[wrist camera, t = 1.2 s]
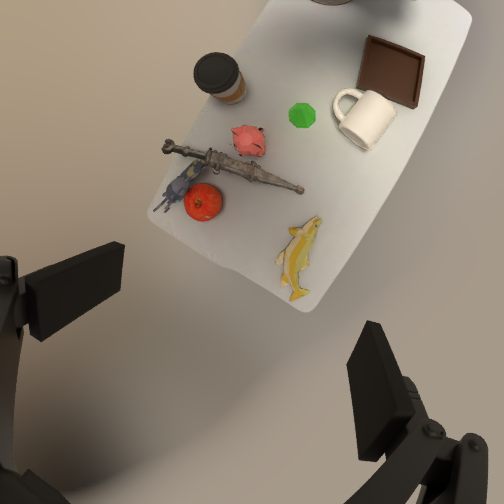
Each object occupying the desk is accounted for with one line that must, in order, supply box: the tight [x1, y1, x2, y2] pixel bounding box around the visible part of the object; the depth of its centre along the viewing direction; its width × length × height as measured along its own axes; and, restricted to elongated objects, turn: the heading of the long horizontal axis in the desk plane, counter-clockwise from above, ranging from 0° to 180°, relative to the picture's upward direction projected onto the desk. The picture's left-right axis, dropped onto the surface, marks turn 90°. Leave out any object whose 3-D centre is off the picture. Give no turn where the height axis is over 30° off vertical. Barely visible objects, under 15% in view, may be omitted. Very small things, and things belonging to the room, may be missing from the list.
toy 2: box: [275, 216, 322, 301], centre depth 65 cm, size 20×3×10 cm
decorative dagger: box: [162, 139, 304, 194], centre depth 58 cm, size 7×2×30 cm
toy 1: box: [153, 160, 204, 213], centre depth 60 cm, size 15×4×15 cm
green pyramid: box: [289, 103, 315, 128], centre depth 56 cm, size 6×6×6 cm
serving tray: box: [356, 35, 425, 109], centre depth 51 cm, size 14×14×3 cm
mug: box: [333, 88, 397, 150], centre depth 53 cm, size 12×10×8 cm
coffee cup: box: [194, 52, 247, 104], centre depth 53 cm, size 8×8×15 cm
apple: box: [184, 183, 222, 222], centre depth 63 cm, size 8×8×8 cm
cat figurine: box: [230, 125, 265, 157], centre depth 56 cm, size 7×7×12 cm
